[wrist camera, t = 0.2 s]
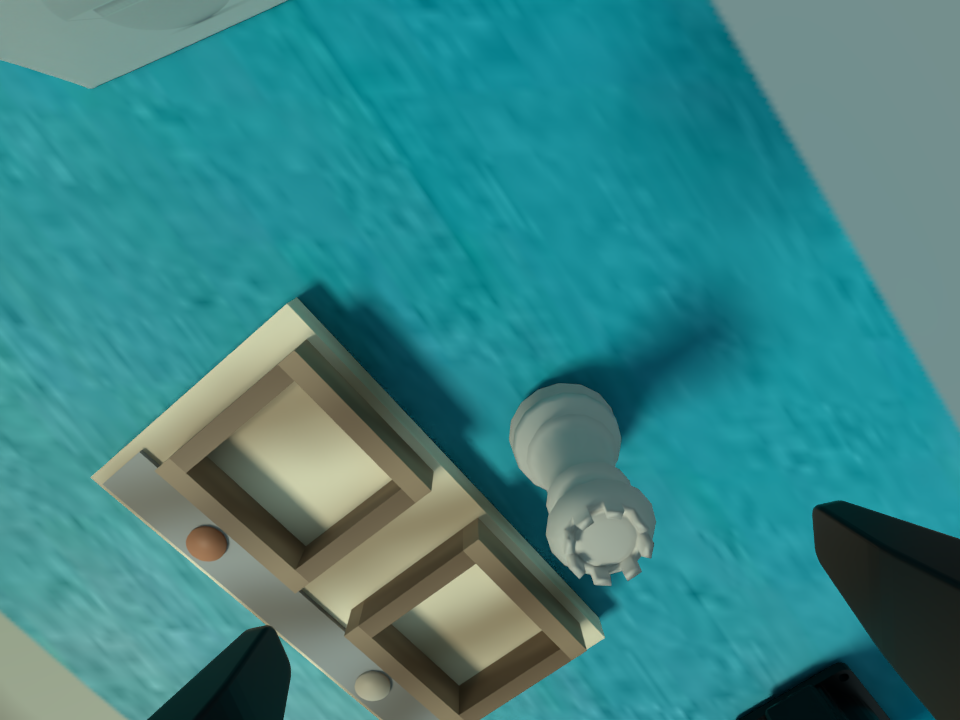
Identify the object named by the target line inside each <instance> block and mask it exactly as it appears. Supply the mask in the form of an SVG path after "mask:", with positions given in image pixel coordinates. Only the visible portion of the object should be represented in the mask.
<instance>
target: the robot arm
mask: <svg viewBox="0 0 960 720" xmlns="http://www.w3.org/2000/svg"><path fill="white" fill-rule="evenodd" d="M812 518H813V530H814V543H815V551H816V555H817V557H818V560H819V562H820V564H821V565H822V567H823V568H824V570H825V571H826V573H827V574H828V576H829V577H830V579H831V580H832V582H833V583H834V585H835V586H836V587H837V589H838V590H839V592H840V593H841V595H842V596H843V598H844V599H845V601H846V602H847V604H848V605H849V607H850V608H851V610H852V611H853V612H854V614H855V615H856V617H857V618H858V620H859V621H860V623H861V624H862V626H863V627H864V629H865V630H866V632H867V633H868V635H869V636H870V638H871V639H872V640H873V642H874V643H875V645H876V646H877V647H878V649H879V650H880V652H881V653H882V654H883V656H884V657H885V658H886V659H887V661H888V662H889V663H890V664H891V666H892V667H893V668H894V670H895V671H896V672H897V673H898V674H899V676H900V677H901V678H902V679H903V680H904V682H905V683H906V684H907V685H908V686H909V688H910V689H911V690H912V691H913V693H914V694H915V695H916V696H917V697H918V699H919V700H920V701H921V702H922V703H923V705H924V706H925V707H926V708H927V709H928V711H929V712H930V713H931V714H932V716H933V717H934V718H935V719H936V720H960V539H958V538H955V537H952V536H949V535H946V534H943V533H940V532H937V531H934V530H931V529H928V528H925V527H922V526H919V525H916V524H912V523H909V522H906V521H903V520H900V519H897V518H894V517H891V516H888V515H885V514H882V513H879V512H876V511H873V510H870V509H867V508H864V507H861V506H858V505H854V504H851V503H848V502H845V501H833V502H829V503H824V504H820V505H817V506H815V507H814V509H813V513H812ZM290 678H291V667H290V662H289V659H288V657H287V655H286V653H285V650H284V648H283V646H282V643H281V641H280V639H279V637H278V634H277V632H276V630H275V629H274V628H273V627H272V626H270V625H265V626H261V627H256V628H251V629H248V630H246V631H245V632H243V633H242V634H241V635H240V636H239V637H238V638H237V639H236V640H234V641H233V642H232V643H231V644H230V645H229V646H228V647H227V648H226V649H224V650H223V651H222V652H221V653H220V654H219V655H218V656H217V657H216V658H215V659H213V660H212V661H211V662H210V663H209V664H208V665H207V666H206V667H205V668H204V669H202V670H201V671H200V672H199V673H198V674H197V675H196V676H195V677H194V678H193V679H191V680H190V681H189V682H188V683H187V684H186V685H185V686H184V687H183V688H181V689H180V690H179V691H178V692H177V693H176V694H175V695H174V696H173V697H172V698H170V699H169V700H168V701H167V702H166V703H165V704H164V705H163V706H162V707H161V708H159V709H158V710H157V711H156V712H155V713H154V714H153V715H152V716H151V717H149V718H148V719H147V720H283V718H284V712H285V707H286V701H287V695H288V690H289V684H290ZM740 720H890V719H889V717H888V716H887V715H886V714H885V712H884V711H883V710H882V708H881V707H880V706H879V705H878V703H877V702H876V701H875V700H874V698H873V697H872V696H871V695H870V693H869V692H868V691H867V689H866V688H865V687H864V686H863V684H862V683H861V682H860V681H859V679H858V678H857V677H856V675H855V674H854V673H853V672H852V670H851V669H850V668H849V667H848V665H846V664H845V663H836V664H834V665H832V666H830V667H829V668H827V669H825V670H824V671H822V672H820V673H818V674H817V675H815V676H813V677H812V678H810V679H808V680H806V681H805V682H803V683H801V684H800V685H798V686H796V687H794V688H793V689H791V690H789V691H788V692H786V693H784V694H782V695H781V696H779V697H777V698H776V699H774V700H772V701H770V702H769V703H767V704H765V705H764V706H762V707H760V708H758V709H757V710H755V711H753V712H752V713H750V714H748V715H746V716H745V717H743V718H741V719H740Z"/></svg>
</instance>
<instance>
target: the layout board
mask: <svg viewBox="0 0 960 720" xmlns="http://www.w3.org/2000/svg"><path fill="white" fill-rule="evenodd" d="M91 478H92V479H93V480H94V481H95V482H96V483H98V484H99V485H100V486H101V487H102V488H103V489H105V490H106V491H107V492H108V493H109V494H111V495H112V496H113V497H114V498H115V499H117V500H118V501H119V502H120V503H121V504H123V505H124V506H125V507H126V508H127V509H129V510H130V511H131V512H132V513H133V514H135V515H136V516H137V517H138V518H139V519H141V520H142V521H143V522H144V523H145V524H146V525H148V526H149V527H150V528H151V529H152V530H154V531H155V532H156V533H157V534H158V535H160V536H161V537H162V538H163V539H164V540H166V541H167V542H168V543H169V544H170V545H172V546H173V547H174V548H175V549H176V550H178V551H179V552H180V553H181V554H182V555H183V556H185V557H186V558H187V559H188V560H189V561H191V562H192V563H193V564H194V565H195V566H197V567H198V568H199V569H200V570H201V571H203V572H204V573H205V574H206V575H207V576H209V577H210V578H211V579H212V580H213V581H215V582H216V583H217V584H218V585H219V586H220V587H222V588H223V589H224V590H225V591H226V592H228V593H229V594H230V595H231V596H232V597H234V598H235V599H236V600H237V601H238V602H240V603H241V604H242V605H243V606H244V607H246V608H247V609H248V610H249V611H250V612H252V613H253V614H254V615H255V616H256V617H258V618H259V619H260V620H261V621H262V622H263V623H265V624H266V625H270V626H272V627H273V628H274V629H275V630H276V632H277V634H278V635H279V636H280V637H281V638H283V639H284V640H285V641H286V642H287V643H289V644H290V645H291V646H292V647H293V648H295V649H296V650H297V651H298V652H299V653H300V654H302V655H303V656H304V657H305V658H306V659H308V660H309V661H310V662H311V663H312V664H314V665H315V666H316V667H317V668H318V669H320V670H321V671H322V672H323V673H324V674H326V675H327V676H328V677H329V678H330V679H332V680H333V681H334V682H335V683H336V684H337V685H339V686H340V687H341V688H342V689H343V690H345V691H346V692H347V693H348V694H349V695H351V696H352V697H353V698H354V699H355V700H357V701H358V702H359V703H360V704H361V705H363V706H364V707H365V708H366V709H367V710H369V711H370V712H371V713H372V714H373V715H375V716H376V717H377V718H378V719H379V720H480V719H482V718H483V717H485V716H486V715H488V714H489V713H491V712H492V711H494V710H495V709H497V708H499V707H500V706H502V705H503V704H505V703H506V702H508V701H509V700H511V699H513V698H514V697H516V696H517V695H519V694H520V693H522V692H523V691H525V690H526V689H528V688H530V687H531V686H533V685H534V684H536V683H537V682H539V681H540V680H542V679H543V678H545V677H547V676H548V675H550V674H551V673H553V672H554V671H556V670H557V669H559V668H561V667H562V666H564V665H565V664H567V663H568V662H570V661H571V660H573V659H574V658H576V657H578V656H579V655H581V654H582V653H584V652H585V651H587V649H588V648H590V647H591V646H593V645H594V644H596V643H597V642H599V641H601V640H602V639H604V638H605V636H604V633H603V630H602V626H601V623H600V620H599V617H598V616H597V615H596V614H595V613H594V612H593V611H592V610H591V609H590V608H589V607H588V606H587V605H586V604H585V603H584V601H583V600H582V599H581V598H580V597H579V596H578V595H577V594H576V593H575V592H574V591H573V590H572V589H571V588H570V587H569V586H568V585H567V583H566V582H565V581H564V580H563V579H562V578H561V577H560V576H559V575H558V574H557V573H556V572H555V571H554V570H553V569H552V568H551V566H550V565H549V564H548V563H547V562H546V561H545V560H544V559H543V558H542V557H541V556H540V555H539V554H538V553H537V552H536V551H535V550H534V548H533V547H532V546H531V545H530V544H529V543H528V542H527V541H526V540H525V539H524V538H523V537H522V536H521V535H520V534H519V533H518V531H517V530H516V529H515V528H514V527H513V526H512V525H511V524H510V523H509V522H508V521H507V520H506V519H505V518H504V517H503V516H502V515H501V513H500V512H499V511H498V510H497V509H496V508H495V507H494V506H493V505H492V504H491V503H490V502H489V501H488V500H487V499H486V498H485V496H484V495H483V494H482V493H481V492H480V491H479V490H478V489H477V488H476V487H475V486H474V485H473V484H472V483H471V482H470V481H469V480H468V478H467V477H466V476H465V475H464V474H463V473H462V472H461V471H460V470H459V469H458V468H457V467H456V466H455V465H454V464H453V463H452V461H451V460H450V459H449V458H448V457H447V456H446V455H445V454H444V453H443V452H442V451H441V450H440V449H439V448H438V447H437V446H436V445H435V443H434V442H433V441H432V440H431V439H430V438H429V437H428V436H427V435H426V434H425V433H424V432H423V431H422V430H421V429H420V428H419V426H418V425H417V424H416V423H415V422H414V421H413V420H412V419H411V418H410V417H409V416H408V415H407V414H406V413H405V412H404V411H403V410H402V408H401V407H400V406H399V405H398V404H397V403H396V402H395V401H394V400H393V399H392V398H391V397H390V396H389V395H388V394H387V393H386V391H385V390H384V389H383V388H382V387H381V386H380V385H379V384H378V383H377V382H376V381H375V380H374V379H373V378H372V377H371V376H370V375H369V373H368V372H367V371H366V370H365V369H364V368H363V367H362V366H361V365H360V364H359V363H358V362H357V361H356V360H355V359H354V358H353V356H352V355H351V354H350V353H349V352H348V351H347V350H346V349H345V348H344V347H343V346H342V345H341V344H340V343H339V342H338V341H337V340H336V338H335V337H334V336H333V335H332V334H331V333H330V332H329V331H328V330H327V329H326V328H325V327H324V326H323V325H322V324H321V323H320V321H319V320H318V319H317V318H316V317H315V316H314V315H313V314H312V313H311V312H310V311H309V310H308V309H307V308H306V307H305V306H304V305H303V303H302V302H301V301H300V300H299V299H298V298H295V299H294V300H292V301H290V302H289V303H287V304H286V305H285V306H284V307H283V308H281V309H280V310H279V311H278V312H277V313H276V314H275V315H274V316H272V317H271V318H270V319H269V320H268V321H267V322H266V323H265V324H263V325H262V326H261V327H260V328H259V329H258V330H257V331H255V332H254V333H253V334H252V335H251V336H250V337H249V338H248V339H246V340H245V341H244V342H243V343H242V344H241V345H240V346H239V347H237V348H236V349H235V350H234V351H233V352H232V353H231V354H229V355H228V356H227V357H226V358H225V359H224V360H223V361H222V362H220V363H219V364H218V365H217V366H216V367H215V368H214V369H213V370H211V371H210V372H209V373H208V374H207V375H206V376H205V377H204V378H202V379H201V380H200V381H199V382H198V383H197V384H196V385H194V386H193V387H192V388H191V389H190V390H189V391H188V392H187V393H185V394H184V395H183V396H182V397H181V398H180V399H179V400H178V401H176V402H175V403H174V404H173V405H172V406H171V407H170V408H168V409H167V410H166V411H165V412H164V413H163V414H162V415H161V416H159V417H158V418H157V419H156V420H155V421H154V422H153V423H152V424H150V425H149V426H148V427H147V428H146V429H145V430H144V431H143V432H141V433H140V434H139V435H138V436H137V437H136V438H135V439H133V440H132V441H131V442H130V443H129V444H128V445H127V446H126V447H124V448H123V449H122V450H121V451H120V452H119V453H118V454H117V455H115V456H114V457H113V458H112V459H111V460H110V461H109V462H108V463H106V464H105V465H104V466H103V467H102V468H101V469H100V470H98V471H97V472H96V473H95V474H94V475H93V476H92V477H91Z"/></svg>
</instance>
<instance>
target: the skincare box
mask: <svg viewBox="0 0 960 720" xmlns="http://www.w3.org/2000/svg"><path fill="white" fill-rule="evenodd" d="M285 1H287V0H0V60H3V61H6V62H10V63H13V64H16V65H20V66H23V67H26V68H30V69H33V70H36V71H39V72H42V73H45V74H48V75H51V76H54V77H58V78H61V79H64V80H67V81H70V82H73V83H76V84H79V85H81V86H84V87H86V88H89V89H92V88H95V87H97V86H98V85H101V84H103V83H105V82H107V81H110V80H112V79H114V78H117V77H119V76H121V75H124V74H126V73H129V72H131V71H133V70H135V69H137V68H140V67H142V66H144V65H146V64H149V63H151V62H153V61H155V60H157V59H160V58H162V57H164V56H166V55H169V54H171V53H173V52H175V51H178V50H180V49H182V48H184V47H186V46H189V45H191V44H193V43H195V42H197V41H200V40H202V39H204V38H206V37H208V36H211V35H213V34H215V33H217V32H219V31H222V30H224V29H226V28H228V27H231V26H233V25H235V24H237V23H239V22H242V21H244V20H246V19H248V18H250V17H252V16H255V15H257V14H259V13H261V12H263V11H266V10H268V9H270V8H272V7H274V6H276V5H279V4H281V3H283V2H285Z"/></svg>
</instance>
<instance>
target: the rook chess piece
mask: <svg viewBox="0 0 960 720" xmlns="http://www.w3.org/2000/svg"><path fill="white" fill-rule="evenodd" d="M509 441H510V444H511V447H512V450H513V453H514V456H515V458H516V461H517V464H518V467H519V468H520V469H521V471H522V472H523V473H524V474H525V475H526V476H527V477H528V478H529V479H530V480H531V481H532V482H533V483H534V484H535V485H537V486H539V487H541V488H543V489H545V490H547V492H548V496H547V503H546V507H547V510H548V513H549V516H548V522H547V529H546V537H547V540H548V543H549V546H550V548H551V551H552V553H553V554H554V555H555V556H556V557H557V558H558V559H559V560H560V561H561V562H562V563H563V564H564V565H565V566H568V567H569V569H570V570H571V571H572V572H573V573H574V574H575V575H576V576H577V577H578V578H579V579H580V578H581V577H582V576H583V575H584V574H585V573H586V574H591V577H592V580H593V583H594V585H603V586H611V577H610V574H613V573H616V572H620V571H623V574H624V575H625V577H626V579H627V581H629V580H630V579H632V578H633V577H635V576H636V575H638V574H639V573H640V572H642V571H641V569H640V566H639V564H638V562H637V560H638V559H639V558H640V557H641V556H643V557H647V558H651V556H652V551H653V547H654V542H653V540H652V539H653V534H654V529H655V524H656V520H655V516H654V512H653V508H652V504H651V503H650V502H649V501H648V499H647V498H646V497H645V496H644V495H643V494H642V493H641V491H640V490H639V489H637V488H635V487H633V486H631V485H630V481H629V480H628V479H627V478H626V476H625V475H624V474H623V473H622V472H621V471H620V470H619V469H618V468H615V464H616V462H617V460H618V456H619V451H620V445H621V434H620V431H619V427H618V423H617V420H616V417H615V416H614V415H613V411H612V408H611V407H610V406H609V405H608V403H607V402H606V401H605V400H604V399H603V398H602V396H601V395H600V394H599V393H597V392H595V391H593V390H591V389H589V388H587V387H585V386H583V385H581V384H566V383H557V384H554V385H551V386H548V387H545V388H541V389H538V390H537V391H536V392H534V393H533V394H532V395H531V396H529V397H528V398H527V399H526V400H524V401H523V402H522V403H521V404H520V406H519V408H518V410H517V411H516V413H515V415H514V417H513V418H512V420H511V427H510V437H509Z"/></svg>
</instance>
